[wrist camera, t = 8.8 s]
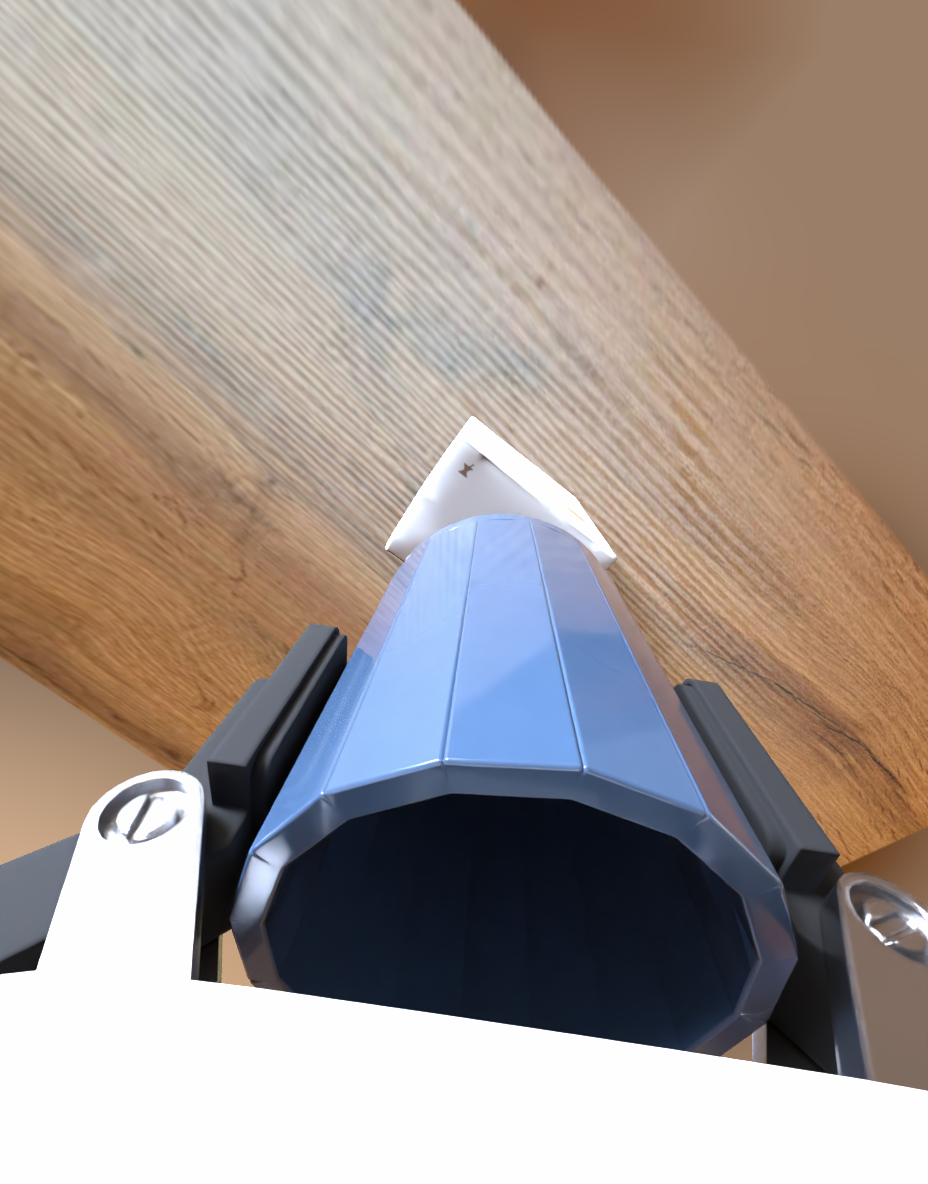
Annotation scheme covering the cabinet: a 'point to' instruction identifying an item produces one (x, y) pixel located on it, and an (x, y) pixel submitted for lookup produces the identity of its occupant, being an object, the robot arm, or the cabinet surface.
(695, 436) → the cabinet surface
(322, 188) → the cabinet surface
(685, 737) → the tumbler
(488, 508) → the small box
